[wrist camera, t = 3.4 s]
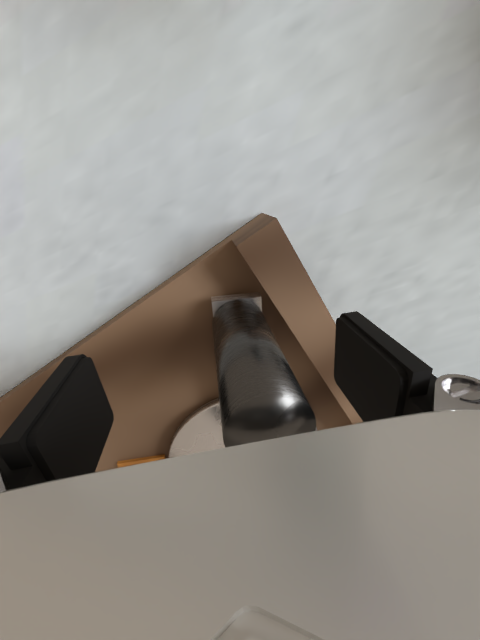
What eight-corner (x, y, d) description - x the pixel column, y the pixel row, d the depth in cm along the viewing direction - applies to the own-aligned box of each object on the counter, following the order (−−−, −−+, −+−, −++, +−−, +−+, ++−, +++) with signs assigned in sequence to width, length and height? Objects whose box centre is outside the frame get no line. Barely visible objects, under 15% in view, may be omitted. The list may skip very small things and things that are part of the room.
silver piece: (312, 487, 22) (368, 633, 15) (181, 509, 21) (171, 677, 14) (329, 284, 15) (450, 370, 8) (133, 302, 14) (63, 422, 7)
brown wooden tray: (390, 435, 23) (415, 468, 20) (188, 545, 25) (186, 588, 22) (261, 212, 14) (276, 218, 12) (-20, 411, 17) (-61, 453, 14)
